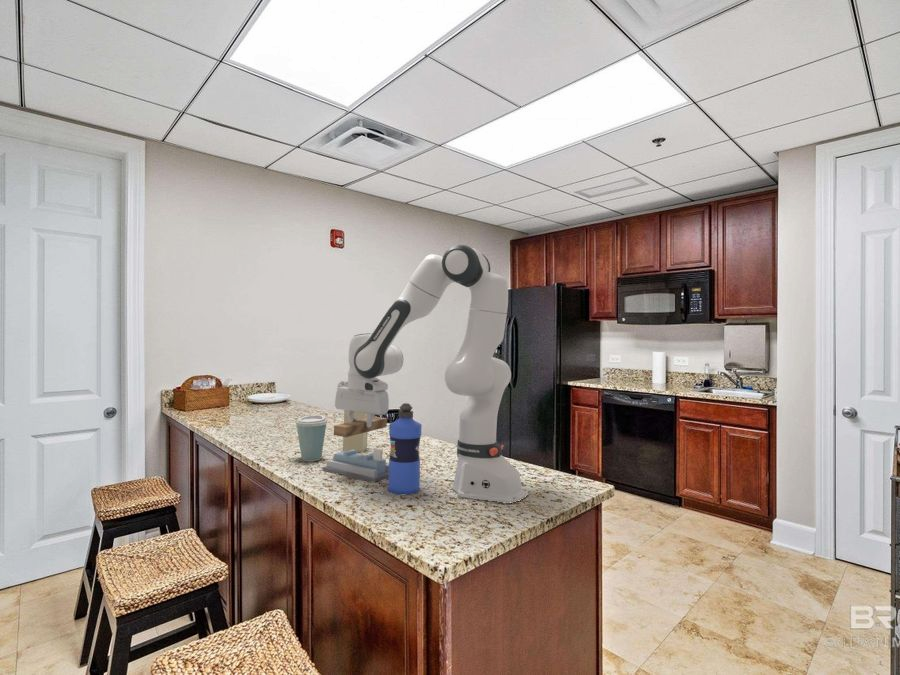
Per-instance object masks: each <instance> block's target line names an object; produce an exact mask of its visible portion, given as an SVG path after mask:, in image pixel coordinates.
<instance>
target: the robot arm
mask: <svg viewBox="0 0 900 675" xmlns="http://www.w3.org/2000/svg"><path fill="white" fill-rule="evenodd" d="M507 281H508V280H507V279H506V278H505V277H504V276H502V275H500V274H499V273H498V274H497V273H493V272H491V264H490V261H489V260H488V257H486V256H485V255H484V254H483V253H481V252H480V251H479V250H477V248H474V247H471V246H469V245H467V244H457V245H454V246H453V245H452V246H451V247H450V248H448V249H447V250H446V251H445V253H444V254H443V256H442V255H439V254H435V253H433V254H428V255H426V256H425V257H424V259H422V261H421V262H420V263H419V264H418V266H417V267H416V269H415V270H414V271H413V273H412V275H411V276H410V278H409V280H408V282H407V284H406V286H405V287H404V288H403V290H402V291H401V294H400V295H399V296H398V297H397V299H396V300H395V301H394V302H393V304H392V305H391V306H390V307H389V308H388V309H387V311H386V313H385V314H384V316H383V317H382V318H381V320H380V322H379V323H378V325H377V326H376V328H375V329H374V330H373V332H372V333H369V332H367V333H360V334H356V335H353V336H352V337H351V339H350V343H349V348H348V364H349V368H348V372H347V381H343V380H342V381H340V382H339V383H338V384H337V388H336V393H335V400H334V407H335V408H336V410H341V411H344V410H347V415H348V417H349V419H350V420H349V422H353V421H356V419H354V415H353V413H354V411H355V412H362V413H367V417H368V419H367V421H365V422H364V424H365V425H364V426H365V427H371V422H372V420H373V418H374V417H376V415H377V416H383V415H386V414H387V413H388V411H389V407H390V406H389V403H390V400H389V394H388V391H387V390H388V389H389V384H388V383H387V382H385V381H384V380H381V379H379V378H377V377H381V376H387V375H393V374H396V373H398V372H399V371H400V370H401V369H402V368H403V366H404V354H403V352H402V351H401V349H400V348H399V347H398V346H396V345H393V344H392V343H394V340H396V337H397V336H398V334H399V332H400V331H401V330H402V329H403V328H404V327H405V326H407V325H408V324H410V323H412V322H414V321H416V320H419V319H422V318H425V317H427V316H428V315H430V314H431V313H432V311H433V310H434V309H435V308H436V307H437V305H438V304H439V301H440V300H441V299H442V296H443V295H444V293H445V291H446V289H447V288H448V286H450V285H451V284H452V283H455V284H460V286H463V287H465V288H468V289H469V291H470V304H469V311H468V318H467V325H466V330H465V336H464V339H463V341H462V344H461V346H460V348H459V351H458V352H457V354H456V355H455V358H454V359H453V360H452V361H451V362H450V363H449V364H448V366H447V367H446V369H445V371H444V382H445V385H446V387H447V389H448V390H449V391H450V392H451V393H453V394H455V395H458V396H459V395H460V396H463V397H468V399H467V401H466V403H465V406H464V407H463V408H462V409H461V411H460V413H459V423H458V424H459V426H458V427H459V428H458V429H459V430H458V439H457V441H456V442H457V445H456V446H457V447H456V456H457V464H456V471H455V475H454V480H453V483H452V486H451V488H452V490H453V491H454V492H456V494H457V496H458V497H460V498H465V499H473V500H478V499H479V501H485V500H488V502H492V501H497V502H496V503H499V502H505V503H504V504H506V503H510V502H511V503H512V502H515V501H518V500H520V499H522V498H524V497H525V496H526V495H527V494H528V492H529V488H528V487H526V486H522V480H521V474H520V472H519V470H518V469H517V468H516V467H515V466H514V465H512V463H511V462H509V460H507V459H506V458H505V457H504V456H503V455H502V450H503V449H504V446H505V445H504V444H502V445H500V443H499V442H498V441H497V426H498V424H497V423H498V413H499V408H500V404H501V402H502V398H503V394H504V392H505V389H506V388H507V387H508V385H509V383H510V382H511V379H512V371H511V367H510V366H509V365H508V363H507V362H506V361H505V360H502V359H499V358H497V357H494V355H495V352H496V350H497V349H498V347H499V345H501V343H502V342H503V340H504V338H505V336H504V335H505V331H506V330H505V329H506V323H507V316H508V308H509V283H508V282H507ZM528 495H529V494H528ZM512 504H513V503H512Z"/></svg>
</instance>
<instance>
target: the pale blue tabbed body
mask: <svg viewBox="0 0 900 675" xmlns="http://www.w3.org/2000/svg"><path fill="white" fill-rule="evenodd" d="M332 460H333V461H338V462H342V463H347V464H352V465H356V466H361V467H365V468H370V469H375V470H378V472H377V475H379V474H382V473H384V472H386V464H387V460H386V459H385V458H383V449H382V448H380V449H379V448H373V452H371V453H369V454H366V455H364V454H360V453H357V452H356V450H349V451H343V450H342V451H339V452H336V453H334V455H333V457H332Z"/></svg>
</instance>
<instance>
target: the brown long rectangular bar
mask: <svg viewBox="0 0 900 675" xmlns="http://www.w3.org/2000/svg"><path fill="white" fill-rule="evenodd" d="M367 419H368V418H367ZM367 419H362V420H357V421H353V422H348V423H344V422H343V423H340V424H335V425H333V436H336V437H342V438H343V437H349V436H353V435H357V434H361V433H365V432H372V431H376V430H380V429H385V428H387V426H388V425H387V422H388V418H387V417H379V416H374V418H373V420H372V422H371V427H365V426H364V425H365V424H364V422H365V421H367Z"/></svg>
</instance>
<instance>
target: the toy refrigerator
mask: <svg viewBox="0 0 900 675" xmlns="http://www.w3.org/2000/svg"><path fill="white" fill-rule="evenodd" d="M353 415H354V419H356V421H357V420H362V419H367V418H368V417H367V413H362V412H355V411H354V413H353ZM349 420H350V419H349V417H348V415H347V410H343V423H348V422H349ZM368 436H369V435H368V432H365V433H361V434H357V435H353V436H349V437H342V452H343V451H345V452H346V451H349V450H356V453H363V452H365V451H366V450H367V449H368Z"/></svg>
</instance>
